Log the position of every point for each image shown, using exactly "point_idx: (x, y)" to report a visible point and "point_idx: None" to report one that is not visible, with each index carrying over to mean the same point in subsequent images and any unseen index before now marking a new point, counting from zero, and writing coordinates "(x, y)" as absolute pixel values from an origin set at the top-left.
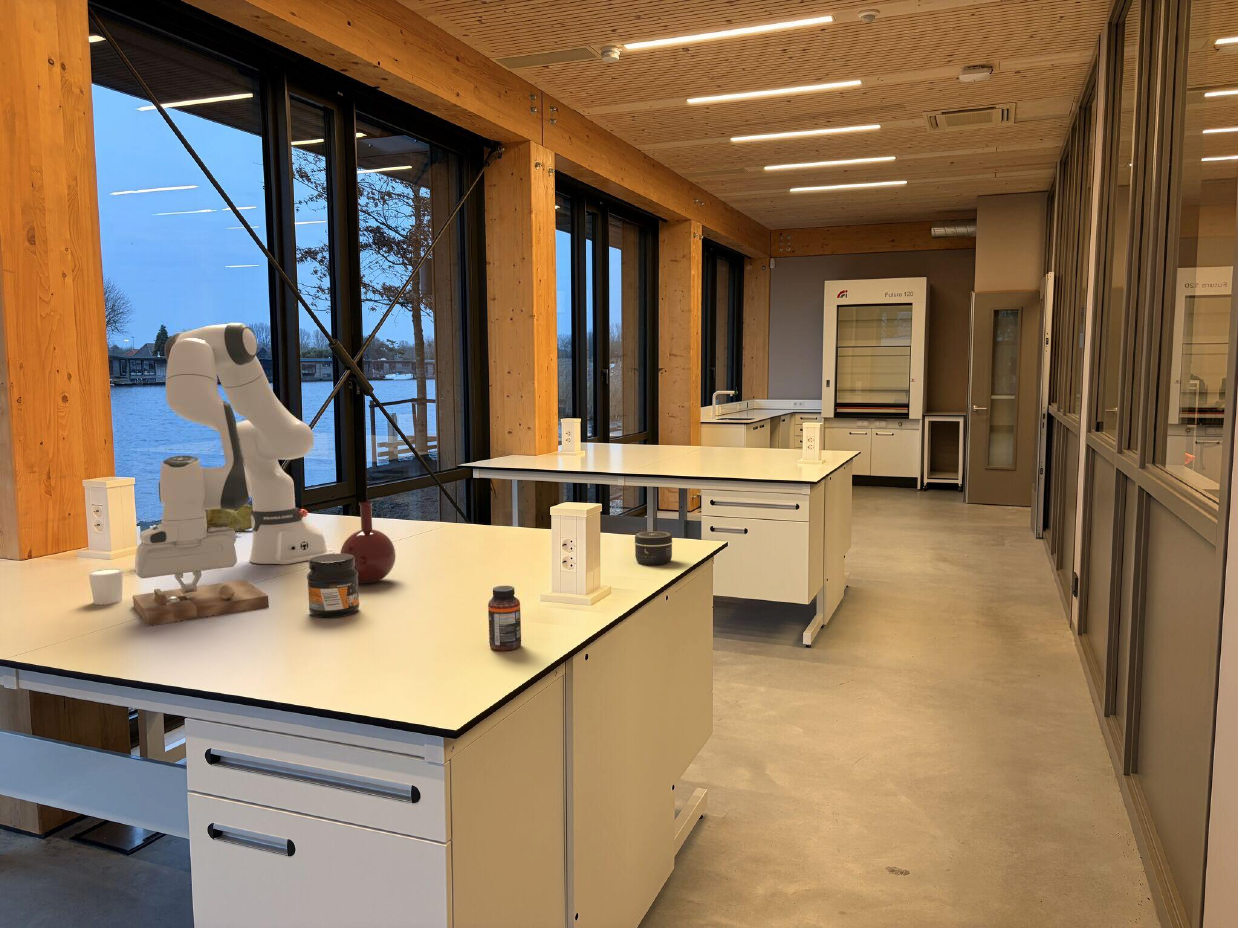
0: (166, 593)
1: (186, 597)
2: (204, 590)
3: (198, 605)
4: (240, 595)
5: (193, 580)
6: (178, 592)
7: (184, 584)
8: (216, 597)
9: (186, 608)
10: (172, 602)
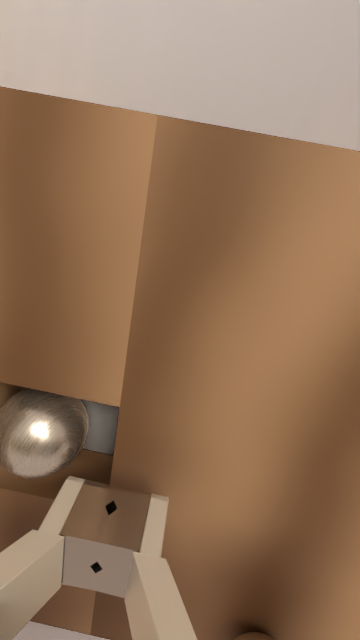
0: (29, 228)
1: (114, 453)
2: (288, 373)
3: (105, 626)
4: (346, 629)
5: (138, 594)
6: (116, 273)
7: (49, 594)
8: (237, 577)
9: (49, 623)
10: (16, 500)
